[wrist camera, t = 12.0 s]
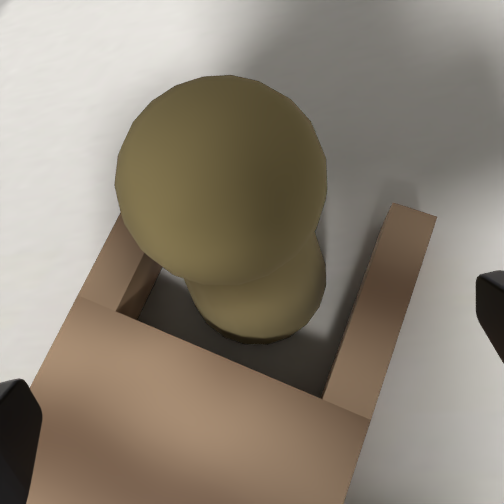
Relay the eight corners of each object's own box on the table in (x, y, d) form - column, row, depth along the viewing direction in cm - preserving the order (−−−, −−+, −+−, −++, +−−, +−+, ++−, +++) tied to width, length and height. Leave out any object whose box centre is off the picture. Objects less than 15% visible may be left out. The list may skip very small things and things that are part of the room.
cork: (255, 375, 19) (198, 347, 9) (162, 276, 21) (21, 153, 10) (355, 274, 20) (414, 137, 9) (258, 187, 22) (216, -10, 11)
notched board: (250, 754, 15) (240, 816, 13) (-35, 580, 18) (-84, 606, 16) (421, 237, 20) (437, 216, 18) (178, 156, 23) (164, 129, 20)
